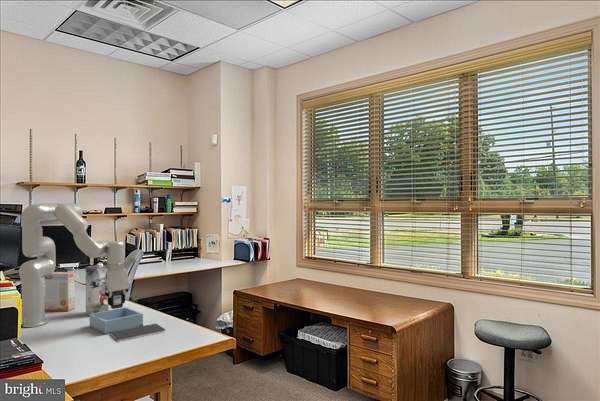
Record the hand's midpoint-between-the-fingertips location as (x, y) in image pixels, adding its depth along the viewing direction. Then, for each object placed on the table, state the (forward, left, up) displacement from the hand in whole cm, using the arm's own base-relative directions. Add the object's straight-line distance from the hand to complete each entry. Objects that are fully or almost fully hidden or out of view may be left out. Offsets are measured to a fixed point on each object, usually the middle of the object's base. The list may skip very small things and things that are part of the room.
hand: (116, 303), depth 203 cm
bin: (0, 0, -11) cm, 11 cm away
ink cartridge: (0, 0, -2) cm, 2 cm away
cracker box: (-8, +53, -11) cm, 55 cm away
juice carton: (+3, +30, -11) cm, 32 cm away
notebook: (+2, -18, -12) cm, 21 cm away
